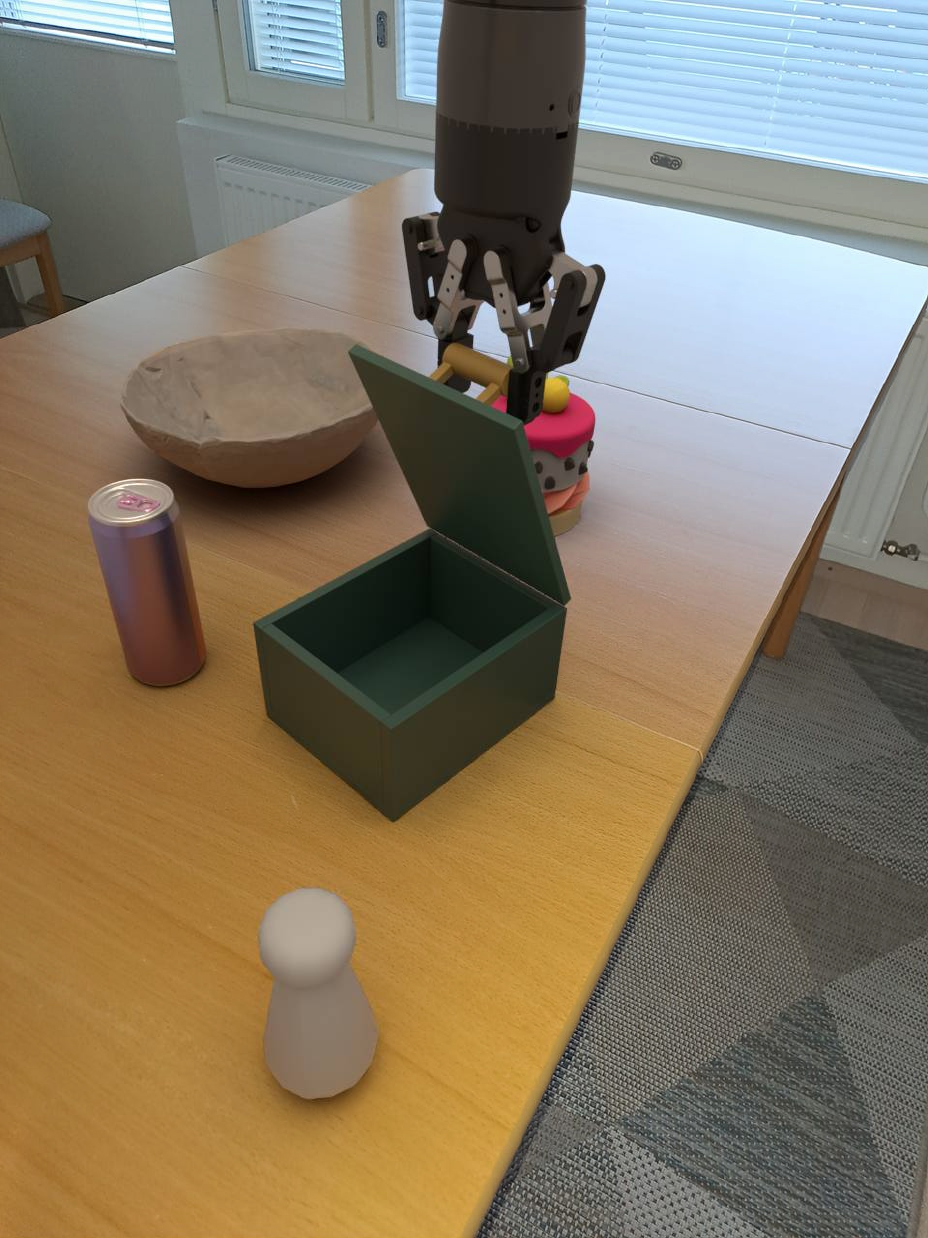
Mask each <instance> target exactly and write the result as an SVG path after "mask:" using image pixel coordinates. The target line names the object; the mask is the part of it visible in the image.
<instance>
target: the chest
mask: <svg viewBox="0 0 928 1238" xmlns="http://www.w3.org/2000/svg"><path fill="white" fill-rule="evenodd" d="M567 612H568V607H567V606H566V605H565V606H563V605H561V604H560V603H558V602H556V601H555V600H553V599H551V598H549V597H548V596H546V595H544V594H543V593H541V592H539V591H537V590H536V589H534V588H532V587H531V586H529V585H527V584H525V583H524V582H522V581H520V580H519V579H517V578H515V577H513V576H512V575H510V574H508V573H507V572H505V571H503V570H501V569H500V568H498V567H496V566H495V565H493V564H491V563H489V562H488V561H486V560H484V559H483V558H481V557H479V556H477V555H476V554H474V553H472V552H471V551H469V550H467V549H465V548H464V547H462V546H460V545H459V544H457V543H455V542H453V541H452V540H450V539H448V538H447V537H445V536H443V535H441V534H440V533H438V532H436V531H434V530H433V529H431V528H429V527H428V529H426V530H424V531H422V532H420V533H418V534H416V535H414V536H413V537H411V538H409V539H407V540H405V541H403V542H401V543H400V544H397V545H396V546H393V547H392V548H390V549H388V550H386V551H385V552H383V553H381V554H379V555H377V556H375V557H373V558H372V559H369V560H368V561H366V562H364V563H362V564H360V565H359V566H356V567H355V568H353V569H351V570H349V571H347V572H345V573H344V574H341V575H339V576H338V577H336V578H334V579H332V580H330V581H328V582H326V583H325V584H323V585H320V586H319V587H316V588H314V589H313V590H312V591H310V592H308V593H306V594H304V595H302V596H300V597H299V598H296V599H295V600H293V601H291V602H289V603H287V604H286V605H284V606H281V607H280V608H278V609H276V610H274V611H272V612H270V613H268V614H267V615H265V616H263V617H261V618H259V619H258V620H255V621H253V622H252V626H253V632H254V639H255V647H256V652H257V659H258V667H259V674H260V681H261V687H262V693H263V702H264V707H265V715H266V716H267V717H268V718H269V719H271V720H272V721H273V722H274V723H275V724H276V725H278V726H279V727H280V728H281V729H282V730H283V731H284V732H286V733H287V734H288V735H289V736H291V737H292V738H293V739H294V740H295V741H296V742H298V743H299V744H300V745H301V746H302V747H303V748H305V749H306V750H307V751H308V752H309V753H311V754H312V755H313V756H314V757H315V758H316V759H318V760H319V761H320V763H322V764H324V765H325V766H326V767H327V768H328V769H329V770H331V771H332V772H333V774H335V775H337V776H338V777H339V778H340V779H341V780H342V781H343V782H345V783H346V784H347V785H348V786H349V787H351V788H352V789H353V790H354V791H355V792H357V793H358V794H359V795H360V796H361V797H362V798H364V799H365V801H367V802H368V803H370V804H371V805H372V806H373V807H374V808H376V809H377V810H378V811H379V812H380V813H381V814H382V815H384V816H385V817H386V818H387V819H388V820H389V821H390V822H392V823H395V822H396V821H397V820H398V819H400V818H401V817H402V816H404V815H405V814H406V813H407V812H409V811H410V810H411V809H413V808H414V807H416V806H417V805H418V804H420V802H422V801H423V800H424V799H426V798H427V797H428V796H430V795H431V794H432V793H433V792H435V791H436V790H437V789H439V788H440V787H442V786H443V785H444V784H445V783H447V782H448V781H449V780H451V778H453V777H454V776H456V775H457V774H458V773H460V772H461V771H462V770H463V769H464V768H466V767H468V766H469V765H470V764H471V763H473V762H474V761H475V760H476V759H478V758H479V757H480V756H482V755H483V754H485V753H486V752H487V751H488V750H489V749H491V748H492V747H493V746H495V745H496V744H497V743H499V742H500V741H501V740H503V739H504V738H505V737H507V736H508V735H510V733H512V732H513V731H514V730H516V729H517V728H518V727H519V726H521V725H522V724H524V722H526V721H527V720H529V719H530V718H531V717H532V716H534V715H535V714H536V713H538V712H539V711H540V710H542V709H543V708H544V707H546V706H547V705H548V704H550V703H551V702H552V701H553V700H554V699H555V698H556V691H557V686H558V678H559V672H560V665H561V657H562V650H563V641H564V636H565V635H564V634H565V629H566V620H567Z"/></svg>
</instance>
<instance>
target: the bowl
mask: <svg viewBox="0 0 928 1238" xmlns="http://www.w3.org/2000/svg"><path fill="white" fill-rule="evenodd" d="M355 344H357V345H359V346H361V347H364V348H366V349H368V350H370V351H372V352H374V353H377V354H379V355H381V356H383V357H385V356H384V355H383V353H382V352H381V351H380V349H379V348H376V346H374V345H373V344H371V343H369V342H368V341H366V340H363V339H360V338H358V337H357V336H354V335H351V334H348V333H345V332H342V331H328V330H326V329H324V328H315V327H314V328H311V329H309V330H308V329H307V328H303V327H297V326H285V327H279V328H271V329H269V328H267V329H264V328H263V329H261V328H260V329H247V330H238V331H237V330H236V331H230V332H224V333H217V334H211V335H203V336H199V337H193V338H188V339H185V340H181V341H179V342H176V343H173V344H170V345H167V346H165V347H162V348H160V349H157V350H155V351H153V352H151V353H149V354H148V355H145V356H144V357H142V358H140V359H139V360H138V361H137V362H136V363H135V365H134V369H131V370H130V371H129V372H128V373H126V375H125V377H124V378H123V380H122V381H121V384H120V388H119V393H118V402H119V405H120V408H121V410H122V412H123V414H124V415H125V419H126V420H127V423H129V425H130V427H131V428H132V430H133V431H134V433H135V434H136V435H137V437H138V438H139V439H140V440H141V442H142V443H144V444H145V445H146V446H147V447H149V449H150V450H152V451H154V452H155V453H156V454H158V455H159V456H160V457H161V458H163V459H165V460H166V461H168V462H170V463H172V464H173V465H175V466H177V467H179V468H181V469H183V470H186V471H188V472H190V473H192V474H194V475H196V476H198V477H201V478H203V479H205V480H208V481H213V482H216V483H221V484H224V485H230V486H234V487H239V488H246V489H250V488H252V489H265V488H277V487H281V486H286V485H289V484H295V483H298V482H303V481H305V480H309V479H310V478H313V477H316V476H318V475H320V474H322V473H324V472H326V471H327V470H329V469H331V468H333V467H334V466H336V465H338V464H339V463H340V462H342V461H344V460H345V459H346V458H347V457H348V456H349V455H351V454H352V453H353V452H354V451H355V450H357V448H358V447H359V446H360V445H361V444H362V443H363V442H364V440H365V439H366V438H367V437H368V435H369V434H370V433H371V432H372V431H373V429H374V428H375V427H376V425H377V424H378V422H379V419H378V417H377V415H376V413H375V411H374V408H373V406H372V404H371V402H370V400H369V397H368V395H367V393H366V391H365V389H364V386H363V384H362V382H361V380H360V378H359V375H358V373H357V371H356V369H355V367H354V364H353V362H352V360H351V358H350V356H349V353H348V351H349V350H350V349H351V348H352V347H353V346H354V345H355Z"/></svg>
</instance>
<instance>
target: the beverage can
mask: <svg viewBox="0 0 928 1238" xmlns="http://www.w3.org/2000/svg"><path fill="white" fill-rule="evenodd" d="M87 512H88V517H87V522H88V527H89V530H90V533H91V538H92V541H93V544H94V549H95V552H96V556H97V559H98V563H99V567H100V571H101V574H102V578H103V579H102V580H103V582H104V587H105V589H106V594H107V597H108V600H109V605H110V609H111V612H112V616H113V620H114V623H115V627H116V631H117V635H118V638H119V643H120V646H121V649H122V653H123V657H124V661H125V664H126V668H127V671H128V673H130V674H131V675H132V676H133V677H134V678H136V679H137V680H138V681H140V683H141V682H142V683H144V684H146V685H149V686H152V687H153V686H154V687H169V686H174V685H178V684H181V683H183V682H186V681H187V680H190V678H192V677H193V676H195V675H196V674H197V673H198V672H199V670H200V669H201V668H202V666H203V664H204V662H205V660H206V657H207V647H206V642H205V636H204V630H203V626H202V622H201V615H200V610H199V605H198V599H197V594H196V590H195V583H194V579H193V572H192V568H191V562H190V558H189V552H188V547H187V541H186V537H185V532H184V531H185V530H184V525H183V520H182V515H181V510H180V506H179V503H178V502H177V500H176V499H175V494H174V492H173V490H172V488H171V487H170V486H168V485H167V484H165V483H163V482H161V481H158V480H156V479H151V478H150V479H149V478H129V479H123V480H118V481H115V482H111V483H109V484H107V485H105V486H102V487H101V488H99V489H97V490H96V491H95V492H93V494H92V495H91V496H90V497H89V500H88V502H87Z"/></svg>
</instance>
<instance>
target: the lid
mask: <svg viewBox="0 0 928 1238" xmlns="http://www.w3.org/2000/svg"><path fill="white" fill-rule="evenodd" d="M348 353H349V356H350V358H351V360H352V362H353V364H354V367H355V369H356V371H357V373H358V375H359V378H360V380H361V382H362V384H363V386H364V389H365V391H366V393H367V395H368V397H369V400H370V402H371V404H372V406H373V408H374V411H375V413H376V415H377V417H378V419H379V420H378V422H379V423H380V426H381V428H382V430H383V433H384V434H385V437H386V438H387V441H388V443H389V445H390V448H391V450H392V452H393V455H394V457H395V459H396V461H397V463H398V465H399V468H400V470H401V472H402V475H403V476H404V478H405V481H406V483H407V486H408V488H409V490H410V493H411V494H412V497H413V499H414V501H415V503H416V505H417V507H418V509H419V512H420V514H421V517H422V518H423V521H424V523H425V525H426V527H428V529H429V528H431V529H432V530H434V531H436V532H437V533H439V534H441V535H442V536H444V537H446V538H447V539H449V540H451V541H453V542H454V543H456V544H458V545H459V546H461V547H463V548H465V549H466V550H468V551H470V552H471V553H473V554H475V555H477V556H478V557H480V558H482V559H483V560H485V561H487V562H489V563H490V564H492V565H494V566H495V567H497V568H499V569H501V570H502V571H504V572H506V573H507V574H509V575H511V576H513V577H514V578H516V579H518V580H519V581H521V582H523V583H525V584H526V585H528V586H530V587H531V588H533V589H535V590H537V591H538V592H540V593H542V594H543V595H545V596H547V597H549V598H550V599H552V600H554V601H555V602H557V603H559V604H561V605H563V606H565V607H566V606H567V605H568V603H569V602H570V601H571V599H572V596H571V592H570V589H569V585H568V582H567V578H566V575H565V572H564V571H565V570H564V567H563V563H562V560H561V556H560V553H559V548H558V545H557V541H556V538H555V536H554V534H553V530H552V527H551V523H550V519H549V516H548V512H547V508H546V505H545V501H544V497H543V494H542V490H541V487H540V483H539V479H538V476H537V472H536V468H535V465H534V461H533V457H532V454H531V450H530V446H529V443H528V439H527V436H526V432H525V428H524V425H523V421H522V420H520V419H518V418H515V417H513V416H511V415H509V414H507V413H505V412H502V411H500V410H498V409H496V408H494V407H492V406H491V405H492V404H493V403H494V402H495V401H496V400H497V399H498V398H499V397H500V396H501V395H503V396H505V397H507V395H508V383H509V370H510V369H513V368H514V367H513V366H511V365H509V364H507V362H504V361H501V360H499V359H497V358H495V357H493V356H490V355H487V354H485V353H483V352H481V351H479V350H476V349H474V348H473V349H471V348H469V347H466V346H464V345H462V344H459V343H452V344H450V345H449V346H448V347H447V348H446V350H445V352H444V354H443V358H442V364H441V365H440V366H439V367H438V366H437V367H438V368H437V367H436V369H435V370H434V371H433V372H432V373H431V374H430V375H429V376H426V375H425V374H422V373H420V372H418V371H415V370H414V369H411V368H409V367H407V366H405V365H403V364H401V363H398V362H396V361H394V360H392V359H390V358H388V357H385V356H384V355H383V356H384V357H383V356H381V355H379V354H377V353H374V352H372V351H370V350H368V349H366V348H364V347H361V346H359V345H357V344H355V345H354V346H353V347H352V348H351V349H350V350H349V351H348ZM453 374H456V375H458V376H460V377H463V378H465V379H467V380H469V381H471V383H474V384H476V385H478V386H480V387H483V388H484V390H482V391H481V393H479V395H478V396H477V397H475V398H474V397H472V396H470V395H467V394H466V393H461V392H459V391H457V390H455V389H452V388H450V387H448V386H446V385H444V383H445V382H446V381H447V380H448V379H449V378H450V377H451V376H452V375H453Z"/></svg>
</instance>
